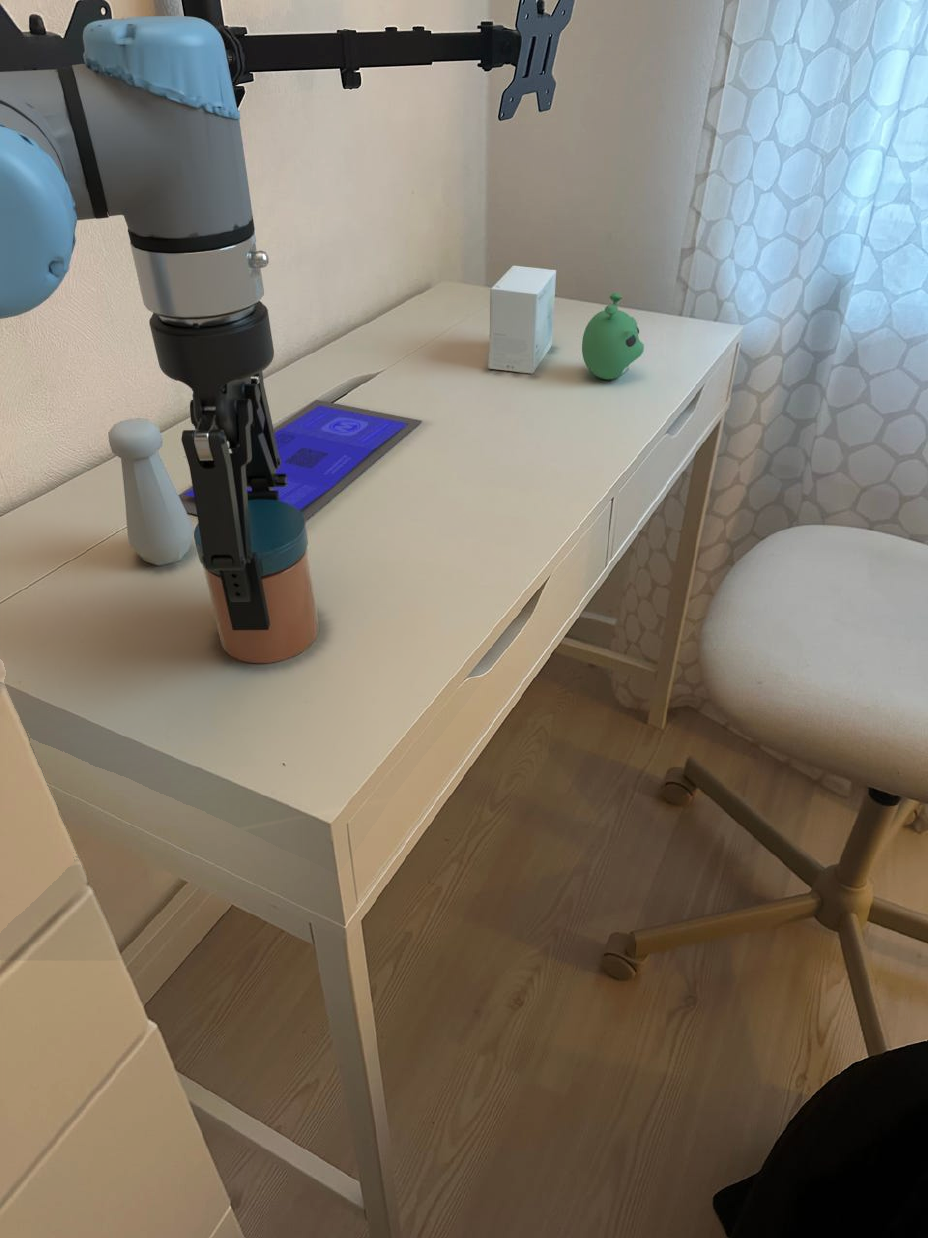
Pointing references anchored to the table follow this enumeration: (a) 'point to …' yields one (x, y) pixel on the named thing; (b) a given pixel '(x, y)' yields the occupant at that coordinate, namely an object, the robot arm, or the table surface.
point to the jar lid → (271, 535)
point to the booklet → (327, 451)
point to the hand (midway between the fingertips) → (262, 592)
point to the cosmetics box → (521, 319)
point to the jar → (271, 616)
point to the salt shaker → (150, 494)
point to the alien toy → (611, 342)
